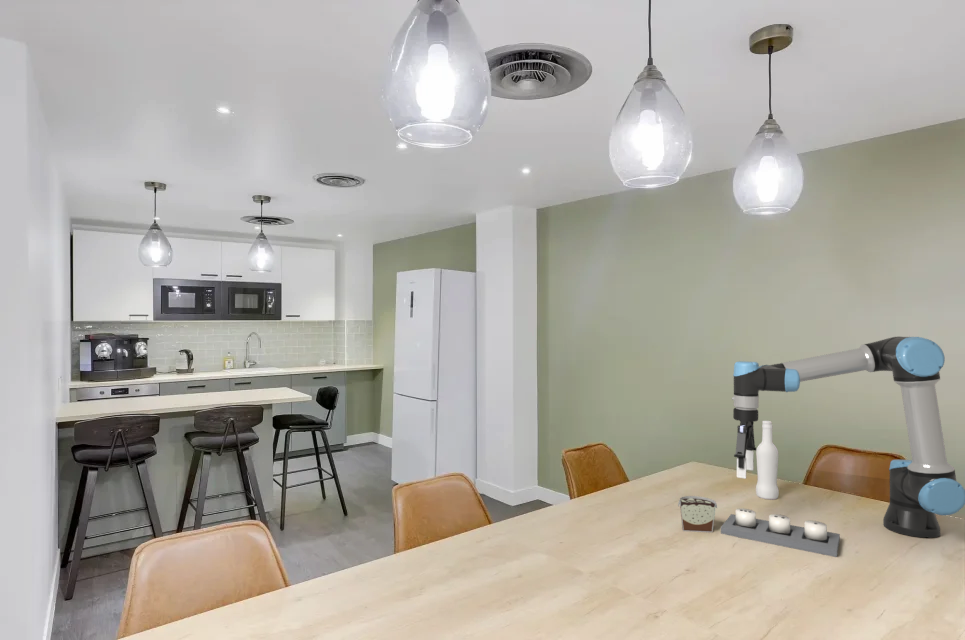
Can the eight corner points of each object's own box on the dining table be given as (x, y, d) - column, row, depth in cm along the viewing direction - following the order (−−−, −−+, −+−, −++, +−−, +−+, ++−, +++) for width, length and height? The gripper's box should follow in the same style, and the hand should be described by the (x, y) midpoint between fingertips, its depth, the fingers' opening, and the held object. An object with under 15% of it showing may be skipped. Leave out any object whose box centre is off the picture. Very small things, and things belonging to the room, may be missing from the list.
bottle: (782, 500, 221) (782, 422, 221) (761, 499, 221) (761, 422, 221) (772, 494, 229) (772, 419, 229) (752, 493, 229) (752, 419, 229)
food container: (711, 525, 192) (711, 496, 192) (717, 532, 185) (717, 501, 186) (673, 524, 193) (674, 494, 193) (678, 530, 187) (678, 500, 187)
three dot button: (757, 522, 188) (757, 510, 189) (753, 528, 184) (753, 515, 184) (737, 519, 192) (737, 506, 192) (733, 524, 187) (733, 511, 187)
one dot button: (827, 536, 177) (827, 522, 177) (826, 541, 172) (826, 528, 172) (805, 531, 181) (805, 518, 181) (803, 537, 176) (803, 523, 176)
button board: (839, 540, 179) (839, 533, 180) (836, 557, 166) (836, 550, 166) (731, 519, 198) (731, 514, 198) (720, 533, 185) (720, 527, 185)
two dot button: (791, 529, 183) (791, 516, 183) (788, 534, 178) (788, 521, 178) (770, 525, 186) (770, 512, 186) (767, 530, 181) (767, 517, 181)
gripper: (741, 403, 200) (740, 464, 200) (725, 411, 181) (724, 479, 180) (764, 405, 196) (764, 467, 196) (751, 413, 176) (750, 483, 176)
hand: (745, 473), depth 188 cm, fingers open, 12 cm apart
